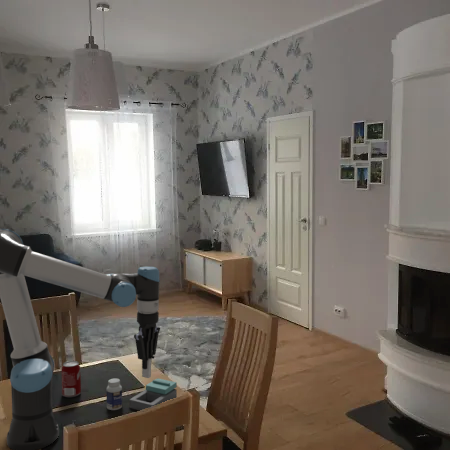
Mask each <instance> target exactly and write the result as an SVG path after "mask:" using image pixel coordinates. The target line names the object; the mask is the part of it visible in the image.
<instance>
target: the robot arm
mask: <svg viewBox="0 0 450 450" xmlns="http://www.w3.org/2000/svg"><path fill="white" fill-rule="evenodd" d="M26 277H29V278H32V279H35V280H39V281H42V282H46V283H49V284H52V285H56V286H57V287H58V286H60V287H62V288H65V289H68V290H73V291H76V292H79V293H83V294H85V295H90V296H92V297H96V298H100V299H103V300H106V301H109V302H112V303H114V304H115V305H116V306H117V307H121V308H127V307H130V306H131V305H132V304H133V303H134V302H135V301H136V310H137V312H136V322H137V324H139V326H138V332H137V333H134V334H133V338H134V340H135V347H136V353H137V359H138V360H141V377H142V378H145V379H150V378H151V377H152V360H153V359H155V356H156V352H157V347H158V340H159V334H160V331H161V327H160V326H157V323H159V321H160V320H159V310H160V309H159V307H160V304H159V303H160V300H159V299H160V270H159V269H158V267H156V266H140V267H138V268H137V272H135V273H134V272H133V273H113V272H112V273H106V274H105V273H102V272H99V271H95V270H93V269H90V268H87V267H84V266H80V265H78V264H74V263H70V262H68V261H64V260H61V259H58V258H55V257H53V256H49V255H45V254H44V253H43V254H42V253H39V252H36V251H33V250H32V248H31V246H29V245H25V244H24V242H23V239H22V238H21V237H20V235H19V234H18V233H17V232H15V231H13V230H11V229H6V228H0V303H1V305H2V309H3V313H4V317H5V321H6V324H7V327H8V332H9V336H10V339H11V343H12V346H13V350H12V352H11V353H10V359H11V362H12V368H11V371H10V376H9V379H10V380H9V381H10V387H11V390H10V391H11V392H10V393H11V415H12V418H11V421H10V425H9V430H8V432H7V434H6V444H7V447H8V448H9V449H11V450H40V449H44V448H46V446H47V447H48V445H49V446H50V444H51V443H52V444H54V443H55V442H56V441H57V440H58V439H59V437H60V428H59V424H58V422H57V419H56V416H55V415H54V411H53V376H54V375H53V374H54V370H55V362H54V359H53V357H52V355H51V353H50V351H49V347H48V344H47V343H46V342H44V341H43V340H42V339H41V336H40V332H39V331H40V330H39V327H38V323H37V320H36V316H35V313H34V309H33V304H32V301H31V296H30V293H29V290H28V285H27V282H26ZM58 436H59V437H58ZM57 438H58V439H57ZM56 439H57V440H56ZM55 440H56V441H55ZM54 441H55V442H54ZM53 442H54V443H53ZM52 444H51V445H52Z"/></svg>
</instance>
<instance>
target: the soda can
mask: <svg viewBox="0 0 450 450" xmlns="http://www.w3.org/2000/svg"><path fill="white" fill-rule="evenodd" d="M62 365H63V366H62V367H61V396H63V397H65V398H75V397H77V396H79V395H80V394H81V393H82V383H81V382H82V379H81V378H82V376H81V372H82V371H81V365H79V361H76V360H68V361H65V362H63V363H62Z"/></svg>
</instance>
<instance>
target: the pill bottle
mask: <svg viewBox="0 0 450 450" xmlns="http://www.w3.org/2000/svg"><path fill="white" fill-rule="evenodd" d="M107 383H108V384H107V386H106V408H107V410H111V411H117V410H120V409H121V408H122V407H123V387H122V384H121V380H120V379H119V378H111V379H109V380H108V382H107Z"/></svg>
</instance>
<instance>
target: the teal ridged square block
mask: <svg viewBox="0 0 450 450" xmlns="http://www.w3.org/2000/svg"><path fill="white" fill-rule="evenodd" d="M176 388H177V382H176V381H172V380H167V379H163V378H155V379H152V381H150V382H149V383H146V385H145V390H147V391H152V392H156V393H161V394H167V393H168V392H170V391H171V390H173V389H176Z"/></svg>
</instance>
